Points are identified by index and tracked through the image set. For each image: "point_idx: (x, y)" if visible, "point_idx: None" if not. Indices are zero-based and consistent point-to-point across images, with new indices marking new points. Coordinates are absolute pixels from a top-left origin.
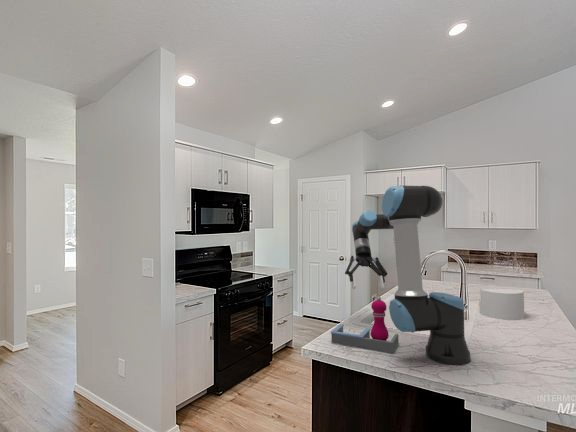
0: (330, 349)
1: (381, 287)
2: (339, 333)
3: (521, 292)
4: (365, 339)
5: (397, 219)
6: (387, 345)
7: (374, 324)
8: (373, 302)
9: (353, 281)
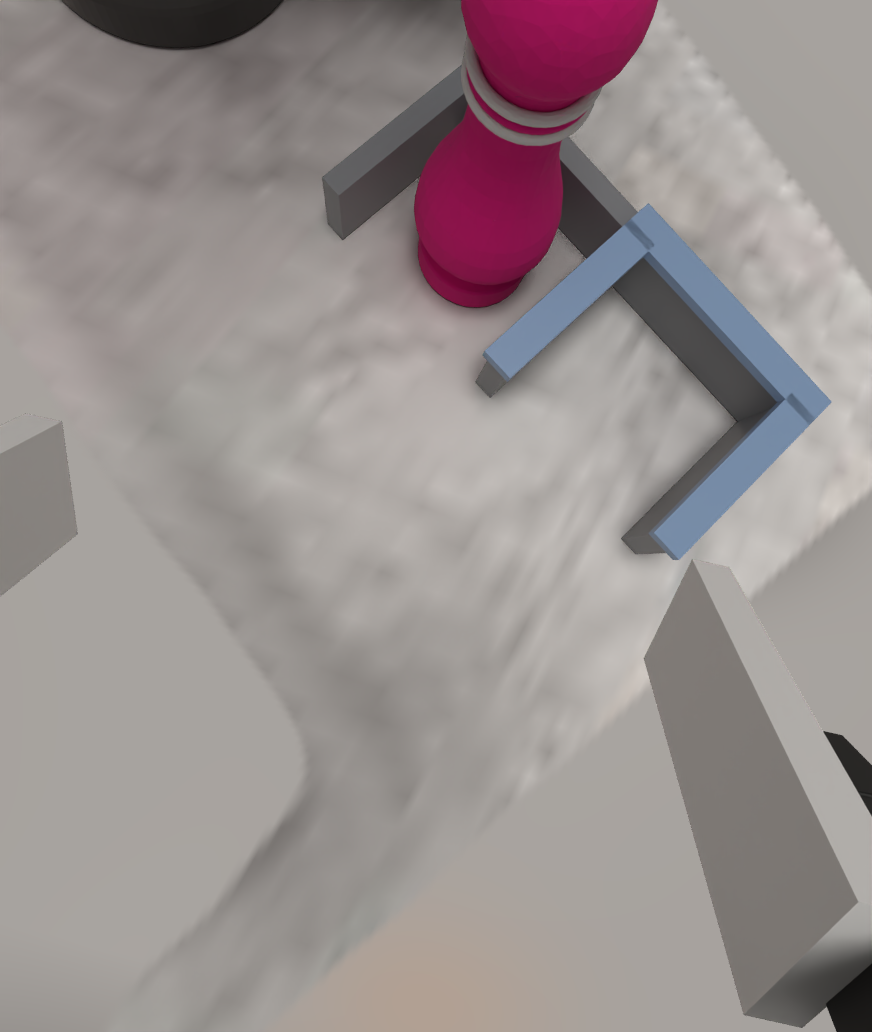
0: (812, 323)
1: (38, 506)
2: (778, 345)
3: None
4: (623, 202)
5: None
6: None
7: (559, 152)
8: None
9: (774, 672)
